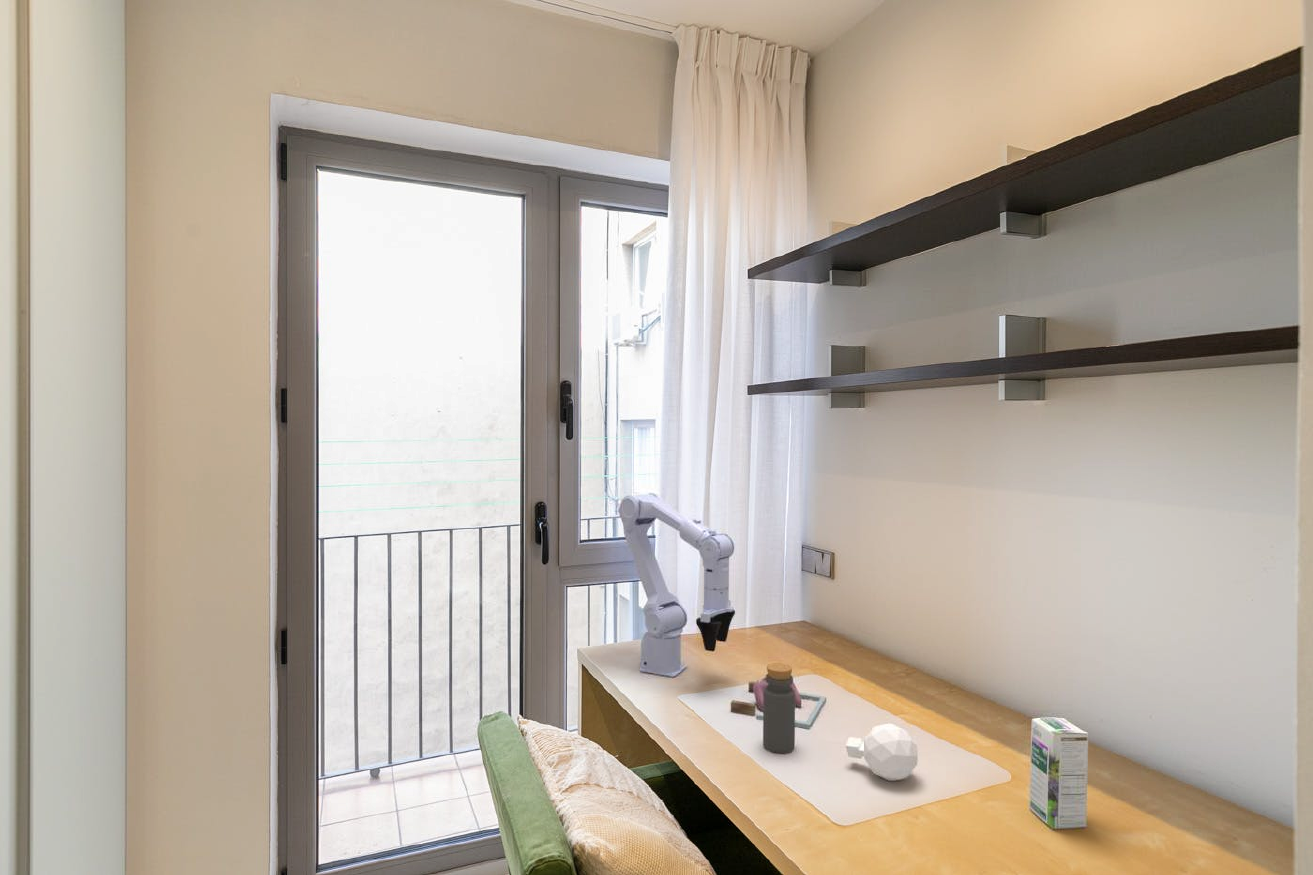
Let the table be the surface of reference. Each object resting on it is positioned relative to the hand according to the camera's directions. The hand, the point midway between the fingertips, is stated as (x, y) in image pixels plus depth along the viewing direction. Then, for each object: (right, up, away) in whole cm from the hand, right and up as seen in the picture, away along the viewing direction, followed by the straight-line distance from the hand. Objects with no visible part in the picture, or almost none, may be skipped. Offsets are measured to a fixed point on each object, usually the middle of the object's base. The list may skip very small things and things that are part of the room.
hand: (715, 645), depth 160 cm
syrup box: (+48, -10, -54) cm, 73 cm away
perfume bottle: (+26, -10, -40) cm, 49 cm away
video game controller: (+12, -10, -11) cm, 19 cm away
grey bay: (+15, -10, -13) cm, 22 cm away
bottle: (+9, -10, -31) cm, 33 cm away
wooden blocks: (+7, -10, -10) cm, 15 cm away
